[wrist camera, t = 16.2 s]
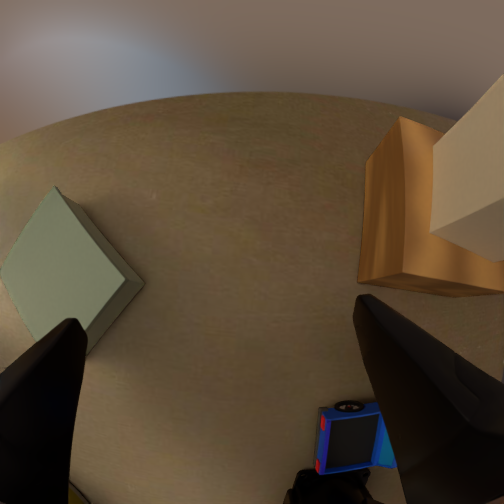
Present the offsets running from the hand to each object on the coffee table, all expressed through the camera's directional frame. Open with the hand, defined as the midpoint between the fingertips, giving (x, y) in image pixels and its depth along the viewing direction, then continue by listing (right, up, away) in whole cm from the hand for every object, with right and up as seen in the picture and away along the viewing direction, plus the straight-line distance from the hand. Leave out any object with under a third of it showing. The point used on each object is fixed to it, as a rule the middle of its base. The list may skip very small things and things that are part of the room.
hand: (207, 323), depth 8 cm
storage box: (-13, 0, +12) cm, 18 cm away
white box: (+15, +5, +5) cm, 16 cm away
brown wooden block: (+15, +4, +12) cm, 20 cm away
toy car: (+12, -12, +10) cm, 19 cm away
